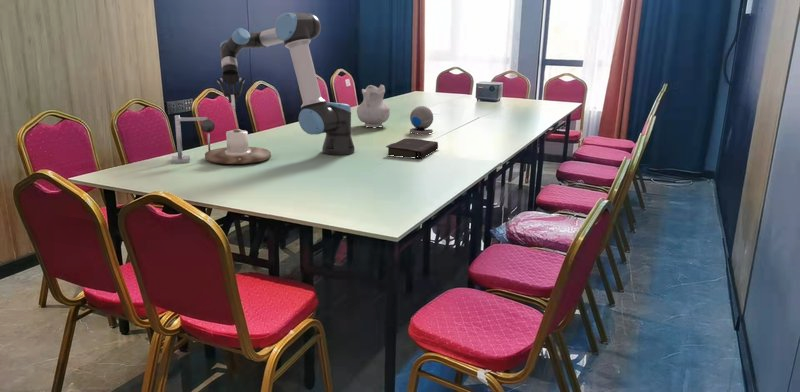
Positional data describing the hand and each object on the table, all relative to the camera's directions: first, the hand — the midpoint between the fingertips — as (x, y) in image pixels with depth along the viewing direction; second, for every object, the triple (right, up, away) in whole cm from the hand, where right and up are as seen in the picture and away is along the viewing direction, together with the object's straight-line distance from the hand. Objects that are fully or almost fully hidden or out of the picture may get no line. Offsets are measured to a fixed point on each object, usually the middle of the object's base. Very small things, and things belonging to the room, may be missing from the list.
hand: (233, 107), depth 278 cm
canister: (+7, -23, -18) cm, 30 cm away
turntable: (+6, -25, -15) cm, 30 cm away
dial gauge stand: (-11, -26, -20) cm, 35 cm away
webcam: (+89, -6, +59) cm, 107 cm away
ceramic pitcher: (+62, -1, +73) cm, 96 cm away
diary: (+83, -21, +7) cm, 86 cm away
